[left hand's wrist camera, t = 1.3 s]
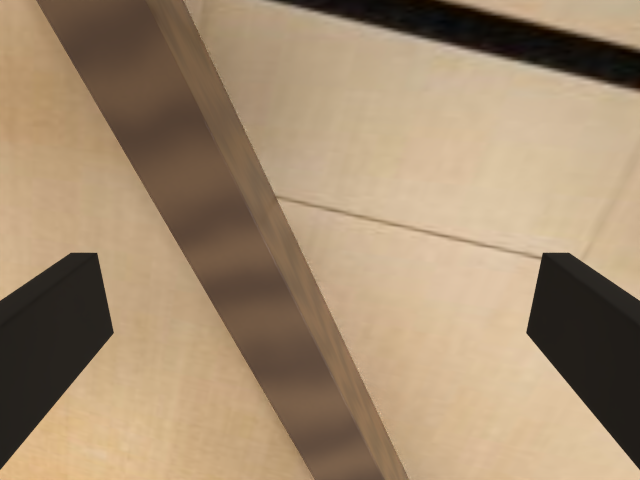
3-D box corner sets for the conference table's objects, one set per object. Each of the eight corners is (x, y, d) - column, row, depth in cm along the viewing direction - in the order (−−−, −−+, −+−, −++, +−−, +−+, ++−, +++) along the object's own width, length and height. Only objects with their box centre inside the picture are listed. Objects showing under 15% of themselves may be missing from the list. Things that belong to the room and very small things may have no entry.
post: (74, -51, 26) (-25, -103, 19) (141, -89, 25) (66, -158, 18) (441, 638, 52) (460, 729, 45) (479, 630, 51) (505, 721, 44)
